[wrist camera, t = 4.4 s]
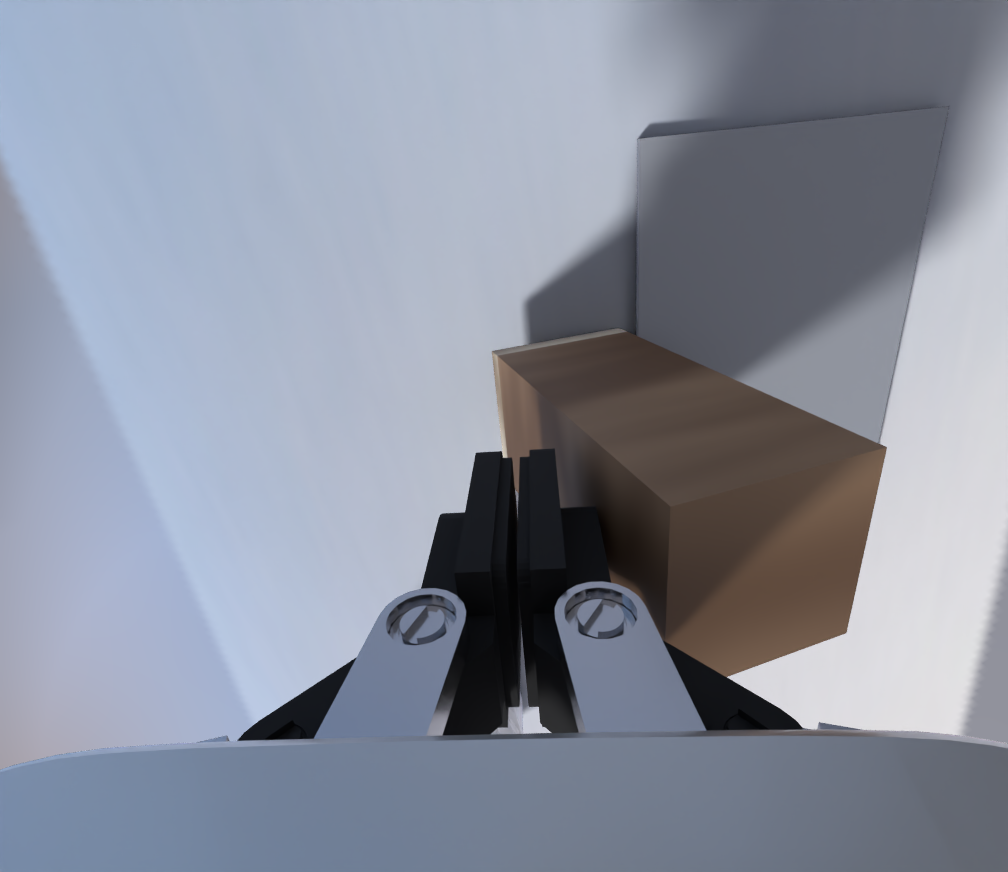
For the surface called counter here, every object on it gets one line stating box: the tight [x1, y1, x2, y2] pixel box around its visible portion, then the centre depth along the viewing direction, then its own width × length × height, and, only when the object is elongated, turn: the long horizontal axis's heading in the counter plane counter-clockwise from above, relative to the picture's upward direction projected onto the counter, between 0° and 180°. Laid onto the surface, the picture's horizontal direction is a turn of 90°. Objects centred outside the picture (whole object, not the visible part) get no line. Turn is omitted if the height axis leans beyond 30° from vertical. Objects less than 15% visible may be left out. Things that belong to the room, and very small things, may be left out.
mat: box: [636, 106, 949, 443], centre depth 17 cm, size 14×8×1 cm, turn 5°
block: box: [492, 328, 887, 677], centre depth 13 cm, size 4×4×9 cm
